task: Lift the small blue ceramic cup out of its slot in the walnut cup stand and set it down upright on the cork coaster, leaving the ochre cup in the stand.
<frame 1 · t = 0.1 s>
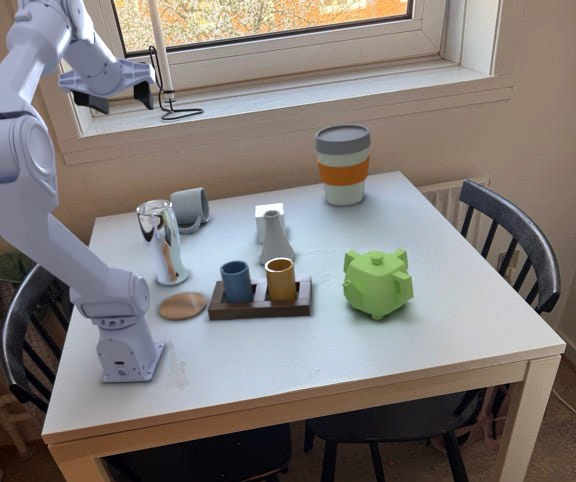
hand: (129, 106, 91), 32 cm above the table, tool tilted 50°, fingers open, 7 cm apart
white cube: (272, 236, 121), on the table
cup holder: (262, 302, 101), on the table
flask: (277, 260, 113), on the table
blue cup: (240, 303, 101), resting in cup holder
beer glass: (173, 278, 112), on the table
teapot: (375, 306, 96), on the table
ceramic mug: (192, 225, 130), on the table
ochre cup: (283, 301, 100), resting in cup holder
reusable coffee cup: (344, 198, 133), on the table
coaster: (183, 306, 103), on the table
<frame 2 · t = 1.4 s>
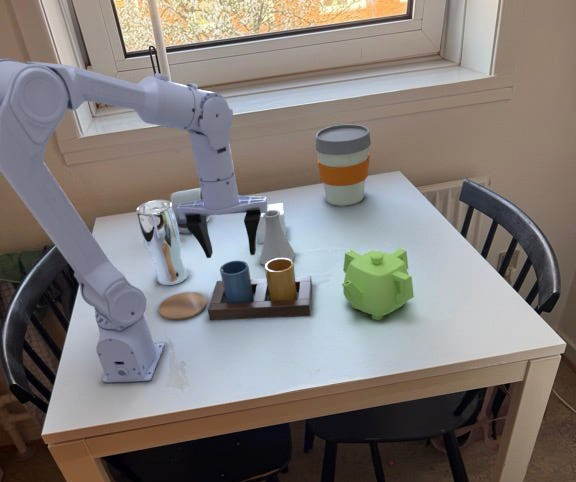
hand: (231, 253, 95), 10 cm above the table, tool pointing down, fingers open, 7 cm apart
nothing on the table moved.
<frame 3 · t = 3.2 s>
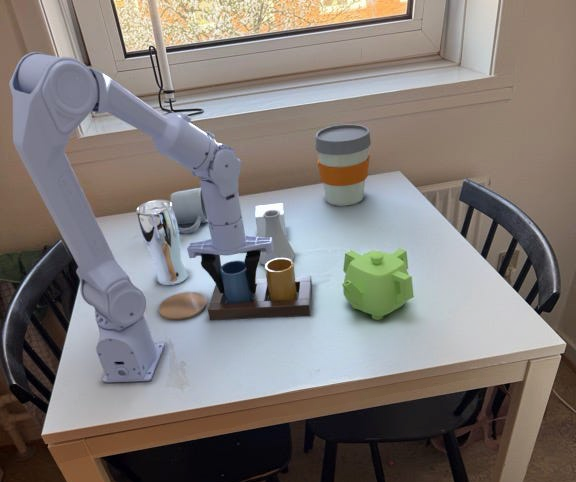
hand: (238, 289, 99), 3 cm above the table, tool pointing down, fingers closed on blue cup, 5 cm apart
blue cup: (240, 303, 101), resting in cup holder, touching gripper
everything else where it was.
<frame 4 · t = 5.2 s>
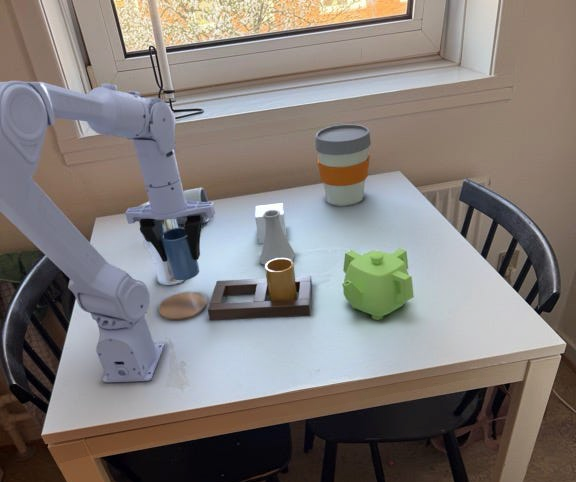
hand: (181, 258, 96), 10 cm above the table, tool pointing down, fingers closed on blue cup, 5 cm apart
blue cup: (185, 273, 98), point 7 cm above the table, touching gripper
everything else where it was.
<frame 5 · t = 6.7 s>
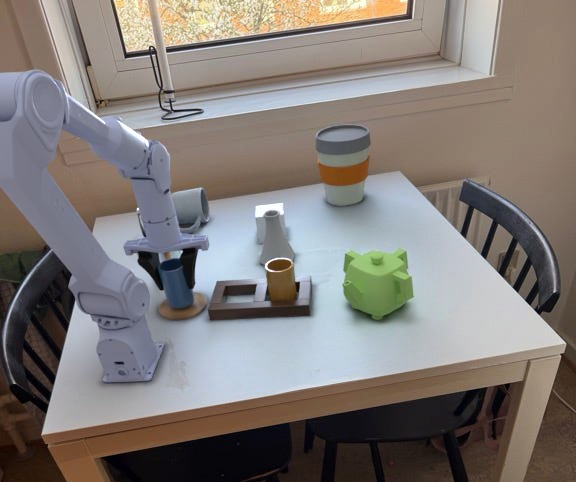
hand: (177, 287, 100), 4 cm above the table, tool pointing down, fingers closed on blue cup, 5 cm apart
blue cup: (181, 300, 102), point 1 cm above the table, touching gripper
everything else where it was.
when the fingers open (3 cm above the table, at t = 7.5 s): blue cup stays where it is, resting on coaster.
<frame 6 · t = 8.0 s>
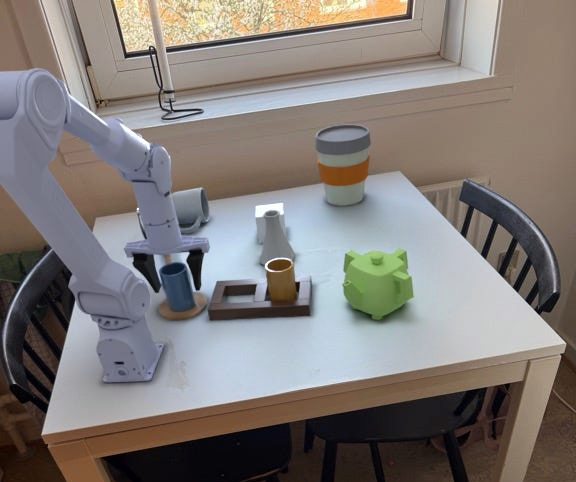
hand: (178, 289, 100), 4 cm above the table, tool pointing down, fingers open, 7 cm apart
blue cup: (182, 304, 102), resting on coaster
everything else where it was.
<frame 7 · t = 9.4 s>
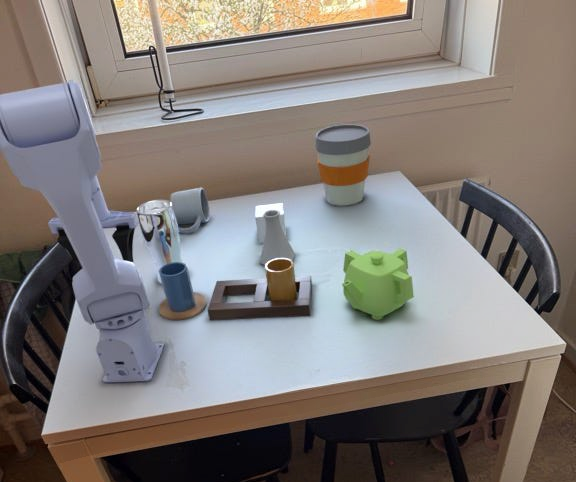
hand: (109, 267, 96), 10 cm above the table, tool pointing down, fingers open, 7 cm apart
nothing on the table moved.
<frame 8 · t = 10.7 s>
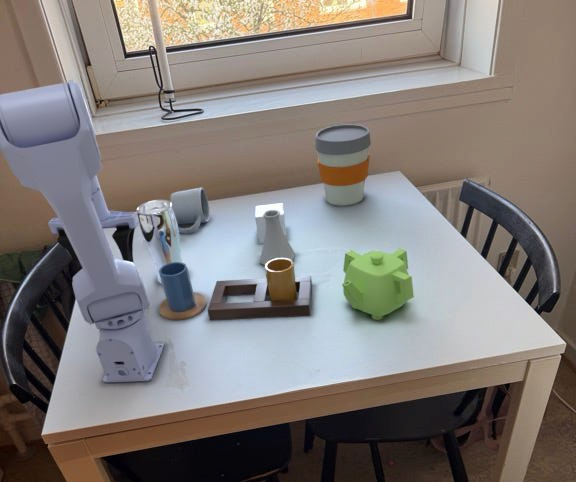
hand: (109, 267, 96), 10 cm above the table, tool pointing down, fingers open, 7 cm apart
nothing on the table moved.
at the end: blue cup 0.1 cm off-centre on the coaster, point 0.4 cm above the coaster's base; blue cup tilted 0°; ochre cup 0.0 cm from the target spot on the cup holder, point 0.0 cm above the cup holder's base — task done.
